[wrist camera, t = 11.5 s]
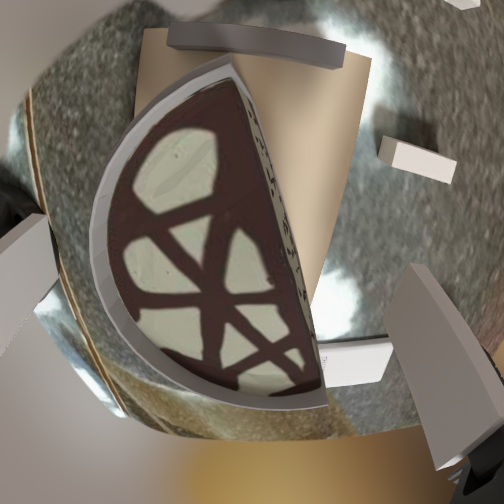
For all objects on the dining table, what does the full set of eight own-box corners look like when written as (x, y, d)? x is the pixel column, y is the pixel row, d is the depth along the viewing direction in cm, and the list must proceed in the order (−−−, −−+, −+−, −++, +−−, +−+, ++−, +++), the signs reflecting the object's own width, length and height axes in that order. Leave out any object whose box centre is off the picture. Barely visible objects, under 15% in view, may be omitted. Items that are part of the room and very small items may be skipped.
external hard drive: (376, 373, 38) (290, 382, 38) (391, 333, 34) (292, 341, 34) (379, 382, 37) (290, 391, 37) (396, 342, 32) (294, 352, 33)
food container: (135, 112, 14) (6, 156, 6) (244, 72, 13) (222, 38, 5) (211, 294, 20) (187, 430, 12) (303, 272, 19) (330, 411, 11)
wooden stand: (165, 249, 28) (129, 322, 19) (179, 46, 19) (130, 22, 10) (293, 266, 28) (306, 346, 20) (335, 67, 20) (386, 55, 11)
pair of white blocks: (377, 157, 23) (391, 166, 20) (407, -35, 14) (422, -44, 11) (433, 173, 23) (450, 184, 21) (461, -6, 14) (479, -11, 11)
